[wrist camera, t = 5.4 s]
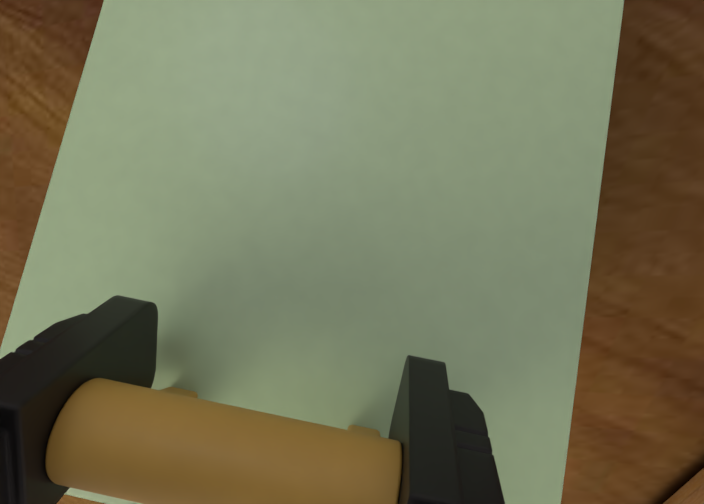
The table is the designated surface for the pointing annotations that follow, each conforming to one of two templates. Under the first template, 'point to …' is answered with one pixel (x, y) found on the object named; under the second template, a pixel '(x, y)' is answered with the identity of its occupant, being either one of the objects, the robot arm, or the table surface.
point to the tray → (690, 491)
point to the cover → (324, 238)
